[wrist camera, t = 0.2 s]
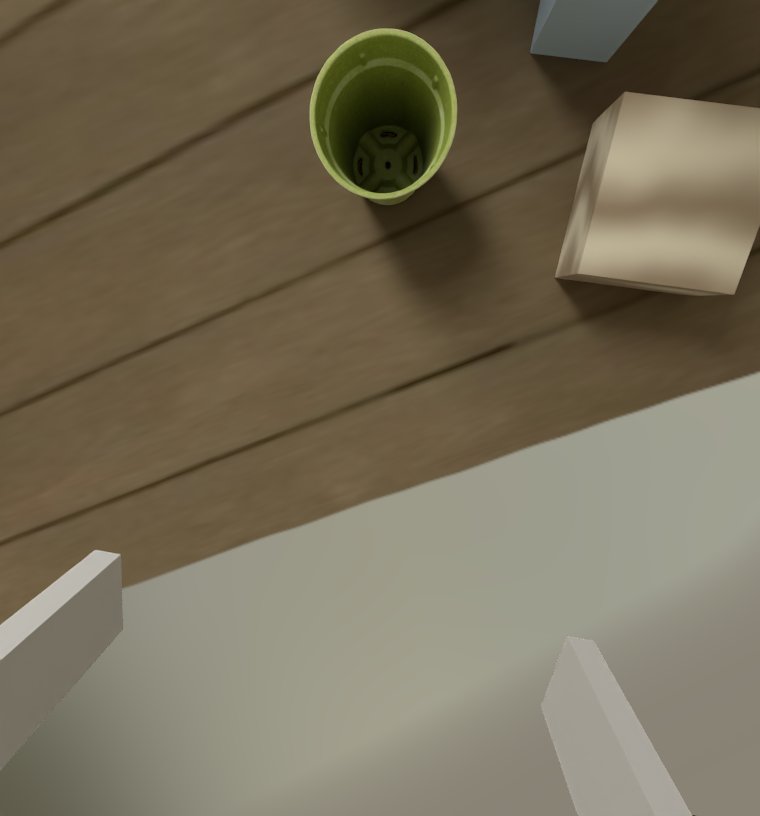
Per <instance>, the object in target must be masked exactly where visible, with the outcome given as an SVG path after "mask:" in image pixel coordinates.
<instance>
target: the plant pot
mask: <svg viewBox="0 0 760 816" xmlns="http://www.w3.org/2000/svg"><path fill="white" fill-rule="evenodd" d="M456 124H457V99H456V93H455V88H454V84H453V80H452V77H451V75H450V72H449V70H448V69H447V67H446V65H445V63H444V62H443V60H442V59H441V57H440V56H439V54H438V53H437V52H436V51H435V50H434V49H433V48H432V47H431V46H430V45H429V44H428V43H426V42H425V41H424V40H423V39H421V38H419V37H418V36H416V35H414V34H412V33H409V32H406V31H403V30H399V29H375V30H370V31H366V32H363V33H361V34H359V35H357V36H355V37H353V38H351V39H350V40H348V41H346V42H345V43H344V44H342V45H341V46H340V47H339V48H338V49H337V50H336V51H335V52H334V53H333V54H332V55H331V56H330V58H329V59H328V60H327V61H326V63H325V65H324V66H323V68H322V69H321V71H320V73H319V75H318V77H317V80H316V83H315V86H314V89H313V92H312V97H311V103H310V129H311V135H312V139H313V143H314V146H315V149H316V152H317V154H318V156H319V158H320V160H321V162H322V164H323V165H324V167H325V168H326V170H327V171H328V173H329V174H330V175H331V176H332V177H333V178H334V179H335V180H336V181H337V182H338V183H339V184H340V185H341V186H342V187H344V188H345V189H347V190H348V191H350V192H351V193H354V194H356V195H358V196H361V197H364V198H368V199H369V200H371V201H372V202H374V203H377V204H381V205H394V204H398V203H400V202H403V201H404V200H406V199H407V198H408V197H410V196H411V195H412V194H413V193H414V192H415V190H416V189H418V188H420V187H421V186H422V185H424V184H425V183H426V182H427V181H428V180H429V179H430V178H431V177H432V176H433V175H434V174H435V173H436V172H437V171H438V169H439V168H440V166H441V165H442V163H443V162H444V160H445V158H446V156H447V154H448V152H449V150H450V148H451V145H452V142H453V139H454V135H455V130H456ZM383 132H394V133H396V135H397V136H396V137H380V135H381V133H383ZM414 157H417V165H418V171H417V174H415V175H414V174H413V171H414V159H413V158H414ZM361 158H362V159H363V161H362V173H363V175H362V176H361V175H360V174H359V170H358V163H359V160H360V159H361ZM386 162H390V163H391V166H390V168H389V169H387V168H386V167H385V163H386Z"/></svg>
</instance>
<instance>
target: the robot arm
mask: <svg viewBox="0 0 760 816" xmlns="http://www.w3.org/2000/svg"><path fill="white" fill-rule="evenodd" d="M122 630H123V615H122V579H121V554H116V553H110V552H105V551H99V550H94V551H93V552H92V553H91V554H89V555H88V556H87V557H86V558H84V559H83V560H82V561H81V562H79V563H78V564H77V565H76V566H74V567H73V568H72V569H70V570H69V571H68V572H67V573H65V574H64V575H63V576H62V577H60V578H59V579H58V580H57V581H55V582H54V583H53V584H52V585H50V586H49V587H48V588H47V589H45V590H44V591H43V592H41V593H40V594H39V595H38V596H36V597H35V598H34V599H33V600H31V601H30V602H29V603H28V604H26V605H25V606H24V607H23V608H21V609H20V610H19V611H18V612H16V613H15V614H14V615H12V616H11V617H10V618H9V619H7V620H6V621H5V622H4V623H2V624H1V625H0V770H1V769H2V768H3V767H4V766H5V765H6V763H7V762H8V761H9V760H10V759H11V758H12V757H13V755H14V754H15V753H16V752H17V751H18V750H19V748H20V747H21V746H22V745H23V744H24V742H26V740H27V739H28V738H29V737H30V736H31V735H32V733H33V732H34V731H35V730H36V729H37V728H38V726H39V725H40V724H41V723H42V722H43V720H44V719H45V718H46V717H47V716H48V715H49V714H50V713H51V712H52V710H53V709H54V708H55V707H56V706H57V705H58V703H59V702H60V701H61V700H62V699H63V698H64V696H65V695H66V694H67V693H68V692H69V691H70V690H71V688H72V687H73V686H74V685H75V684H76V683H77V682H78V680H79V679H80V678H81V677H82V676H83V674H84V673H85V672H86V671H87V670H88V669H89V668H90V667H91V665H92V664H93V663H94V662H95V661H96V660H97V658H98V657H99V656H100V655H101V654H102V653H103V652H104V650H105V649H106V648H107V647H108V646H109V645H110V644H111V642H112V641H113V640H114V639H115V638H116V637H117V635H118V634H119V633H120V632H121V631H122ZM541 709H542V712H543V715H544V718H545V721H546V724H547V727H548V730H549V733H550V736H551V739H552V742H553V745H554V748H555V750H556V754H557V757H558V759H559V762H560V765H561V768H562V771H563V774H564V777H565V780H566V783H567V786H568V789H569V792H570V795H571V798H572V801H573V804H574V807H575V809H576V813H577V815H578V816H694V815H691V813H690V811H689V809H688V807H687V806H686V804H685V802H684V800H683V799H682V797H681V795H680V793H679V792H678V790H677V788H676V786H675V784H674V783H673V781H672V779H671V777H670V775H669V774H668V772H667V770H666V768H665V767H664V765H663V763H662V761H661V759H660V758H659V756H658V754H657V752H656V751H655V749H654V747H653V745H652V743H651V742H650V740H649V738H648V736H647V735H646V733H645V731H644V729H643V727H642V726H641V724H640V722H639V720H638V719H637V717H636V715H635V713H634V711H633V710H632V708H631V706H630V704H629V703H628V701H627V699H626V697H625V695H624V694H623V692H622V690H621V688H620V687H619V685H618V683H617V681H616V679H615V678H614V676H613V674H612V672H611V671H610V669H609V667H608V665H607V664H606V662H605V660H604V658H603V656H602V655H601V653H600V651H599V649H598V647H597V646H596V644H595V642H594V640H588V639H583V638H577V637H571V636H567V637H566V640H565V642H564V645H563V648H562V650H561V653H560V656H559V658H558V661H557V664H556V667H555V670H554V672H553V675H552V678H551V680H550V683H549V685H548V688H547V691H546V693H545V696H544V699H543V702H542V704H541Z"/></svg>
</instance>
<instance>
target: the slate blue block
mask: <svg viewBox="0 0 760 816" xmlns="http://www.w3.org/2000/svg"><path fill="white" fill-rule="evenodd" d="M657 1H658V0H540V4H539V9H538V14H537V20H536V25H535V30H534V35H533V40H532V45H531V50H530V53H532V54H540V55H548V56H556V57H565V58H573V59H581V60H589V61H598V62H606V63H607V61H608V60H609V59H610V58H611V57H612V55H613V54H614V53H615V52H616V50H617V49H618V48H619V47H620V46H621V44H622V43H623V42H624V41H625V40H626V38H627V37H628V36H629V35H630V34H631V32H632V31H633V30H634V29H635V28H636V26H637V25H638V24H639V23H640V22H641V20H642V19H643V18H644V17H645V16H646V14H647V13H648V12H649V11H650V10H651V8H652V7H653V6H654V5H655V4H656V2H657Z"/></svg>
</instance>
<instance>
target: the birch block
mask: <svg viewBox="0 0 760 816" xmlns="http://www.w3.org/2000/svg"><path fill="white" fill-rule="evenodd" d="M759 226H760V108H754V107H746V106H738V105H730V104H721V103H713V102H705V101H697V100H689V99H681V98H672V97H664V96H656V95H648V94H640V93H632V92H624V93H623V94H622V95H621V96H620V97H619V98H618V99H617V100H616V101H615V102H614V103H613V104H612V105H611V106H610V107H609V108H608V109H607V110H605V111H604V112H603V113H602V114H601V115H600V116H599V117H598V118H597V119H596V120H595V121H594V122H593V124H592V128H591V132H590V136H589V140H588V144H587V148H586V153H585V157H584V161H583V165H582V169H581V173H580V177H579V181H578V185H577V189H576V194H575V198H574V202H573V206H572V210H571V214H570V218H569V222H568V226H567V230H566V235H565V239H564V243H563V247H562V251H561V255H560V259H559V263H558V267H557V271H556V275H555V278H561V279H568V280H576V281H583V282H590V283H598V284H605V285H613V286H620V287H627V288H635V289H642V290H650V291H657V292H664V293H672V294H679V295H687V296H706V295H734V294H735V291H736V288H737V286H738V283H739V280H740V278H741V275H742V272H743V269H744V267H745V264H746V261H747V259H748V256H749V253H750V250H751V248H752V245H753V242H754V240H755V237H756V234H757V231H758V229H759Z"/></svg>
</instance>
